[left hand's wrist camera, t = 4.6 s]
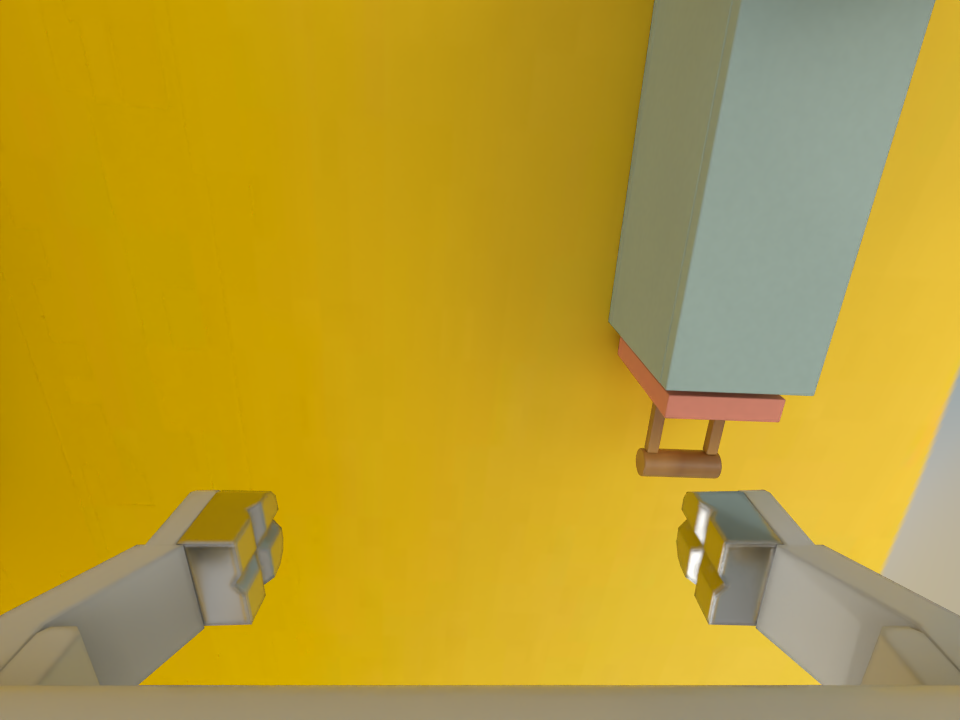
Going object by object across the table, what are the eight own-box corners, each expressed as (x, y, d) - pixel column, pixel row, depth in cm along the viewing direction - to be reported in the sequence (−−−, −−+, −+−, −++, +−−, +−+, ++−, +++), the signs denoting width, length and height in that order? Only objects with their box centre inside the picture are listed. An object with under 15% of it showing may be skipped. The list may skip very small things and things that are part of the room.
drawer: (688, 432, 35) (753, 514, 27) (605, 429, 34) (646, 511, 27) (789, -32, 25) (934, -117, 18) (677, -40, 25) (773, -129, 17)
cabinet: (714, 326, 33) (814, 396, 23) (608, 321, 33) (665, 390, 23) (807, -98, 25) (1014, -253, 16) (669, -108, 25) (794, -272, 15)
